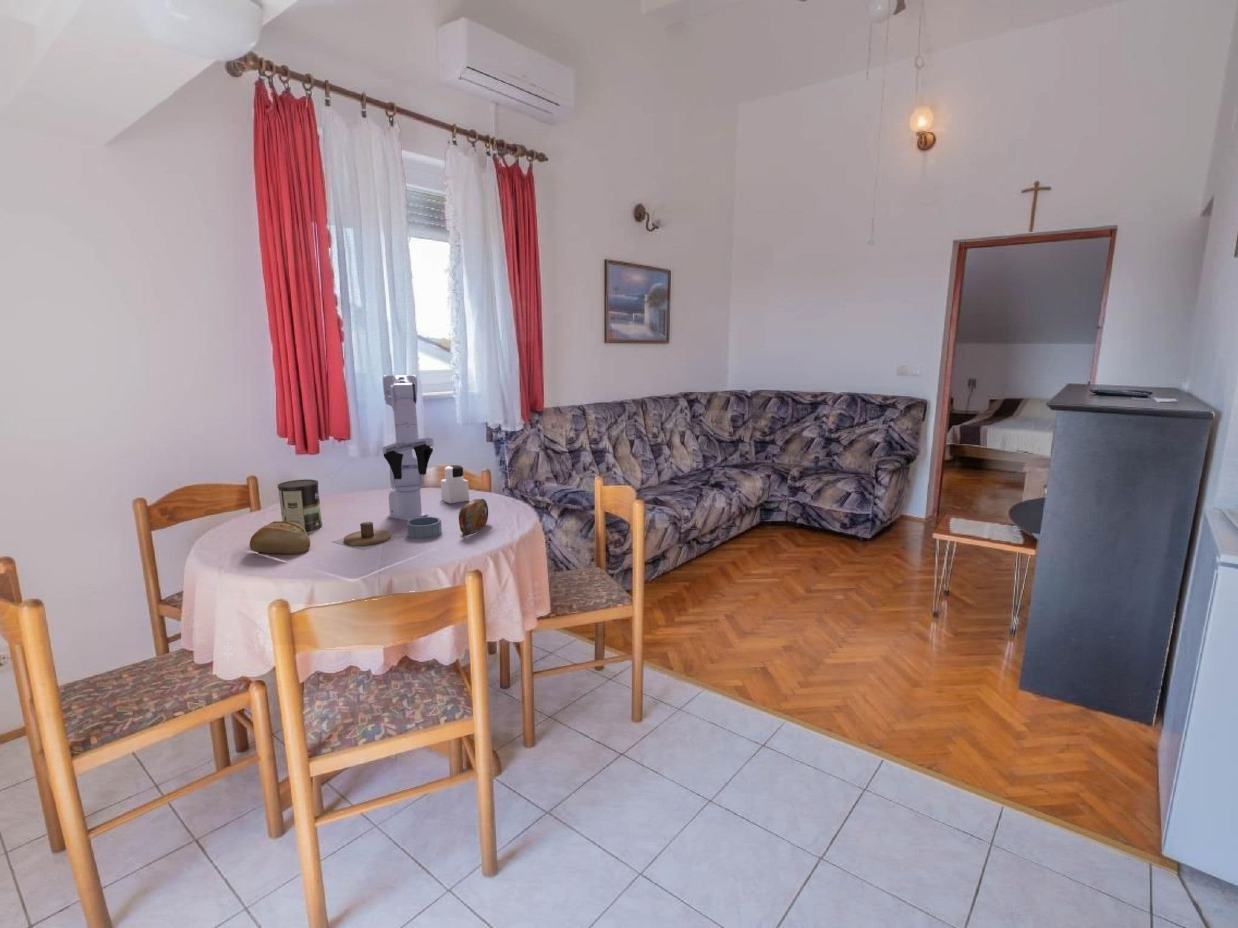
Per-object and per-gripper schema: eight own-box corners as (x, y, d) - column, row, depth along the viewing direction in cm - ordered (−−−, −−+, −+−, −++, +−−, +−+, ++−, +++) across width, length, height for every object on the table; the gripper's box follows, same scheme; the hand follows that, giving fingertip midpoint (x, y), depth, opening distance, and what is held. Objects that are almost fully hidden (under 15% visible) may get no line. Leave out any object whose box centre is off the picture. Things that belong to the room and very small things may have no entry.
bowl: (400, 536, 171) (399, 523, 170) (425, 528, 179) (424, 515, 178) (424, 541, 167) (423, 527, 166) (448, 533, 175) (447, 519, 174)
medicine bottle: (460, 496, 215) (459, 463, 213) (469, 500, 210) (468, 466, 207) (441, 499, 211) (439, 465, 208) (449, 504, 205) (447, 469, 203)
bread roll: (263, 546, 164) (260, 517, 162) (319, 546, 164) (316, 517, 162) (242, 558, 154) (238, 528, 153) (301, 558, 154) (298, 528, 153)
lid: (334, 541, 165) (332, 526, 165) (371, 529, 176) (369, 515, 175) (364, 549, 160) (362, 532, 159) (400, 536, 170) (399, 521, 169)
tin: (468, 538, 170) (466, 509, 169) (457, 537, 171) (456, 508, 169) (489, 522, 185) (488, 495, 183) (480, 522, 185) (478, 495, 184)
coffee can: (320, 523, 184) (316, 477, 181) (324, 532, 175) (319, 484, 172) (281, 528, 178) (276, 481, 176) (283, 538, 170) (278, 489, 167)
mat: (331, 543, 165) (331, 541, 165) (371, 530, 177) (371, 529, 176) (364, 551, 159) (363, 549, 159) (403, 537, 170) (403, 536, 170)
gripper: (373, 429, 162) (377, 479, 160) (420, 419, 158) (424, 470, 156) (390, 433, 169) (394, 481, 167) (436, 423, 165) (440, 473, 163)
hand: (410, 476), depth 162 cm, fingers open, 7 cm apart
